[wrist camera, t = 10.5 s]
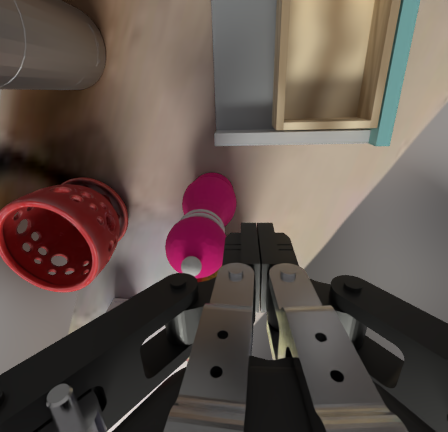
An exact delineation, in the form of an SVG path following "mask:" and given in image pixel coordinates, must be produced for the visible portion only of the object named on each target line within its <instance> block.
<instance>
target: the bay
mask: <svg viewBox="0 0 448 432" xmlns="http://www.w3.org/2000/svg"><path fill="white" fill-rule="evenodd" d="M419 4H420V0H401V3H400V9H399V14H398V19H397V25H396V30H395V35H394V41H393V46H392V51H391V56H390V62H389V67H388V72H387V78H386V83H385V88H384V94H383V99H382V104H381V110H380V115H379V120H378V126H377V128H356V129H312V130H275V128H274V127H273V126H272V108H273V82H274V57H275V31H276V6H277V0H211V6H212V32H213V57H214V83H215V109H216V132H215V133H214V139H215V146H251V145H303V144H355V143H369V144H372V145H374V146H390V141H391V137H392V132H393V127H394V122H395V118H396V113H397V108H398V103H399V99H400V94H401V89H402V84H403V80H404V75H405V70H406V65H407V61H408V56H409V51H410V46H411V42H412V37H413V32H414V27H415V23H416V18H417V13H418V8H419Z"/></svg>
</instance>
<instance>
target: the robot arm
mask: <svg viewBox="0 0 448 432" xmlns="http://www.w3.org/2000/svg"><path fill="white" fill-rule="evenodd" d="M105 60H106V53H105V46H104V42H103V38H102V36H101V34H100V32H99V30H98V28H97V27H96V25H95V24H94V22H93V21H92V20H91V19H90V18H89V17H88V16H87V15H86V14H85V13H84V12H82V11H81V10H79V9H78V8H76V7H74V6H72V5H70V4H68V3H66V2H64V1H62V0H0V89H32V90H82V89H86V88H89V87H90V86H92V85H94V84H95V83H96V82H97V81H98V80H99V78H100V77H101V75H102V73H103V70H104V67H105ZM259 299H260V311H261V312H265V313H267V332H268V337H269V342H270V347H271V352H272V357H273V360H265V359H262V358H257V357H254V356H252V345H253V344H252V343H253V324H254V322H255V312H259ZM164 325H165V327H166V328H165V329H163V330H162V331H161V332H159V333H158V334H157V335H155V336H154V337H153V338H151V339H150V340H149V341H147V342H146V343H145V344H143V345H142V343H143V342H144V341H145V339H146V338H148V337H149V336H150V335H152V334H153V333H154V332H156V331H157V330H158V329H160V328H161V327H162V326H164ZM367 327H368V328H370V329H372V330H373V331H375V332H376V333H378V334H379V335H381V336H382V337H384V338H386V339H387V340H388V341H390V342H392V343H393V344H395V345H396V346H397V347H398V348H399V349H400V350H401V351H402V353H403V355H404V359H405V361H403V360H401V359H400V358H398V357H397V356H395V355H394V354H392V353H391V352H389V351H388V350H386V349H385V348H383V347H382V346H380V345H379V344H377V343H376V342H375V341H373V340H371V339H370V338H369V337H367V336H365V333H366V329H367ZM141 345H142V346H141ZM188 358H189V360H188V364H187V367H185V368H183V369H181V370H179V371H178V372H176V373H174V374H173V375H172V376H170V377H169V378H168V379H167V380H166V381H164V382H163V383H162V384H161V385H160V386H159V387H158V388H157V389H156V390H155V391H154V392H153V393H152V394H151V395H150V396H149V397H148V398H147V399H146V400H145V401H144V402H143V403H141V404H140V405H139V406H138V407H137V408H136V409H135V410H134V411H133V412H132V413H131V414H130V415H129V416H128V417H127V418H126V419H125V420H124V421H123V422H122V423H121V424H120V425H119V426H117V427H116V428H115V429H114V430H113V431H112V432H448V323H446V322H443V321H442V320H440V319H438V318H436V317H434V316H432V315H430V314H428V313H426V312H424V311H422V310H420V309H419V308H417V307H415V306H413V305H411V304H409V303H407V302H405V301H403V300H401V299H399V298H398V297H396V296H394V295H392V294H390V293H388V292H386V291H384V290H382V289H380V288H378V287H376V286H374V285H373V284H371V283H369V282H367V281H365V280H363V279H360V278H358V277H354V276H349V275H342V276H337V277H335V278H334V279H333V280H332V281H331V285H330V284H326V283H321V282H317V281H314V280H312V279H309V277H308V275H307V273H306V271H305V270H304V269H303V268H301V267H299V265H298V262H297V259H296V256H295V253H294V251H293V247H292V243H291V240H290V238H289V237H288V236H287V235H286V234H284V233H275V232H274V228H273V224H272V223H257V228H256V223H241V233H230V234H229V235H228V236H227V237H226V238H225V245H224V253H223V262H222V267H221V268H220V269H219V270H218V273H217V276H216V277H214V278H212V279H210V280H207V281H202V282H198V281H197V279H196V278H195V277H194V276H193V275H191V274H187V273H176V274H172V275H170V276H167V277H166V278H164V279H162V280H161V281H159V282H157V283H155V284H154V285H152V286H150V287H149V288H147V289H145V290H144V291H142V292H140V293H138V294H137V295H135V296H133V297H132V298H130V299H128V300H127V301H125V302H123V303H121V304H120V305H118V306H116V307H115V308H113V309H111V310H110V311H108V312H106V313H105V314H103V315H101V316H99V317H98V318H96V319H94V320H93V321H91V322H89V323H88V324H86V325H84V326H82V327H81V328H79V329H77V330H76V331H74V332H72V333H71V334H69V335H67V336H66V337H64V338H62V339H61V340H59V341H57V342H55V343H54V344H52V345H50V346H49V347H47V348H45V349H43V350H42V351H40V352H38V353H37V354H35V355H33V356H32V357H30V358H28V359H26V360H25V361H23V362H21V363H20V364H18V365H16V366H15V367H13V368H11V369H10V370H8V371H6V372H4V373H3V374H1V375H0V432H107V431H108V430H109V429H110V428H111V427H112V426H113V425H114V424H115V423H117V422H118V421H119V420H120V419H121V418H122V417H123V416H124V415H126V414H127V413H128V412H129V411H130V410H131V409H132V408H133V407H134V406H136V405H137V404H138V403H139V402H140V401H141V400H142V399H143V398H144V397H146V396H147V395H148V394H149V393H150V392H151V391H152V390H153V389H155V388H156V387H157V386H158V385H159V384H160V383H161V382H162V381H163V380H165V379H166V378H167V377H168V376H169V375H170V374H171V373H172V372H173V371H175V370H176V369H177V368H178V367H179V366H180V365H181V364H182V363H184V362H185V361H186V360H187V359H188Z"/></svg>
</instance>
